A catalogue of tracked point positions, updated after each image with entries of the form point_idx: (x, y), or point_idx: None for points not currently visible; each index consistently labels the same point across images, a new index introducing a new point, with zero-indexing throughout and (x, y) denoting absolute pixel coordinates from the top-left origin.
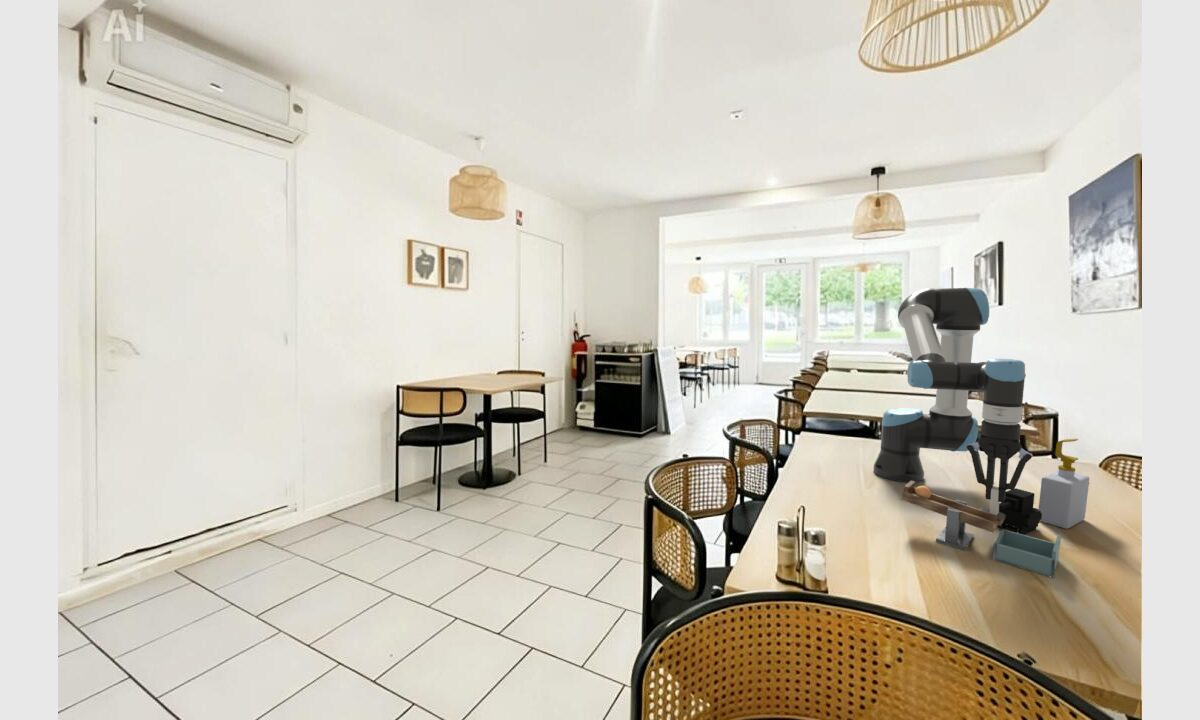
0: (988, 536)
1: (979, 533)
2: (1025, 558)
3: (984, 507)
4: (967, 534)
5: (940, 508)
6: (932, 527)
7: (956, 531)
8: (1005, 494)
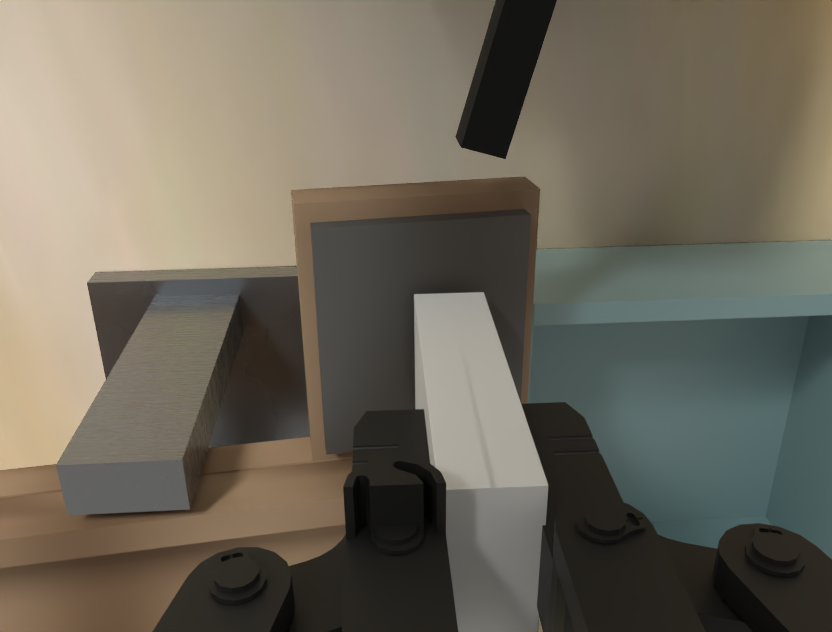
0: (387, 152)
1: (317, 141)
2: None
3: (330, 243)
4: (268, 321)
5: None
6: (9, 313)
7: None
8: (605, 466)
